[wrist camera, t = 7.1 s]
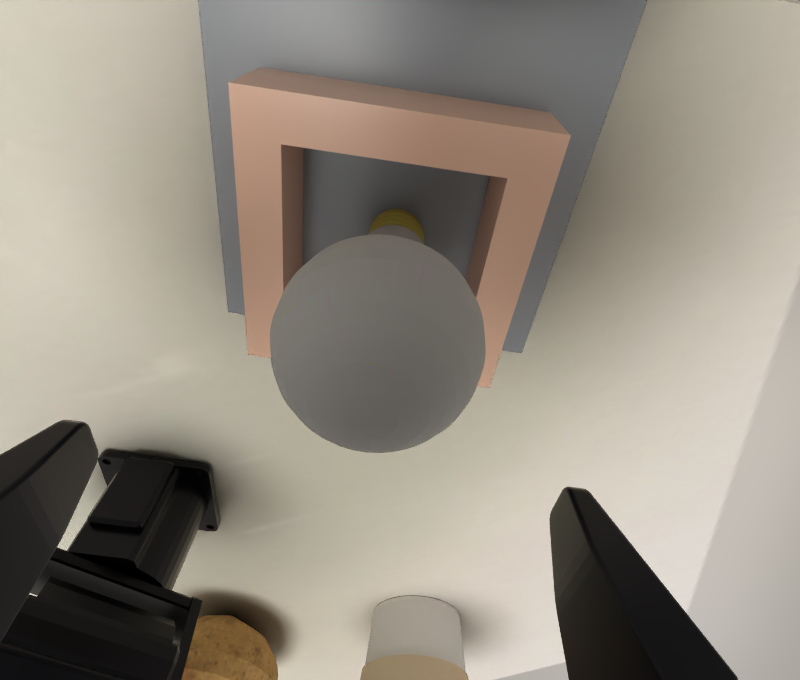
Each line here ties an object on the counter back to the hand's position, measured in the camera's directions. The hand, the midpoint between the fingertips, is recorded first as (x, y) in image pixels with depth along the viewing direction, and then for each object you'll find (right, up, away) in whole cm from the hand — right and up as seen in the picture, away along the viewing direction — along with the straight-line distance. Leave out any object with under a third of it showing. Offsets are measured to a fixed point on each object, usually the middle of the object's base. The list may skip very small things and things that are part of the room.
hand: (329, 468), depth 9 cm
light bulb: (+1, +7, +9) cm, 12 cm away
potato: (-13, -22, +33) cm, 42 cm away
